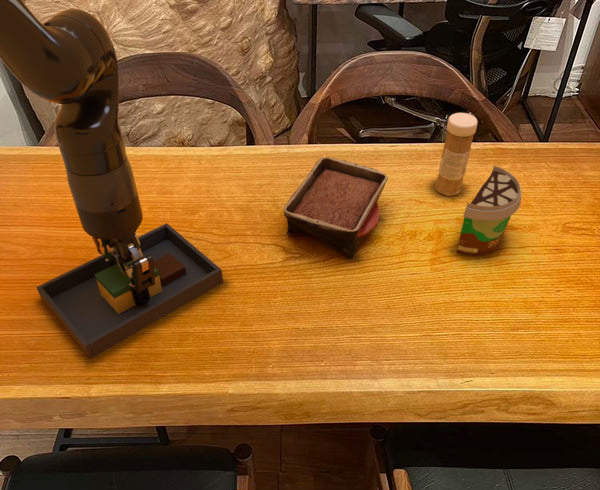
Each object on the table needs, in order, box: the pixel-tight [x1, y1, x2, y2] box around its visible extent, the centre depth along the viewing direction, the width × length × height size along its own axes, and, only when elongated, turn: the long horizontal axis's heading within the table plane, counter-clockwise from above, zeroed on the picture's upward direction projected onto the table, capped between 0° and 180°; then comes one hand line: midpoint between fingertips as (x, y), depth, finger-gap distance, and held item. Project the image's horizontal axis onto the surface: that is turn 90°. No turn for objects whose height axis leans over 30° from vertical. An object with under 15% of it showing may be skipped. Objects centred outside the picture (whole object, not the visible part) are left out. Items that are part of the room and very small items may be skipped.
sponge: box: [95, 260, 162, 314], centre depth 82 cm, size 7×5×4 cm
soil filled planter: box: [283, 156, 389, 259], centre depth 92 cm, size 14×18×10 cm
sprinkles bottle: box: [435, 112, 479, 197], centre depth 97 cm, size 5×5×14 cm
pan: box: [35, 222, 224, 359], centre depth 83 cm, size 21×14×3 cm
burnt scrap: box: [154, 254, 186, 286], centre depth 86 cm, size 4×4×2 cm
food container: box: [456, 165, 522, 257], centre depth 88 cm, size 12×6×10 cm, turn 148°
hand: (132, 291), depth 83 cm, fingers closed on sponge, 5 cm apart
